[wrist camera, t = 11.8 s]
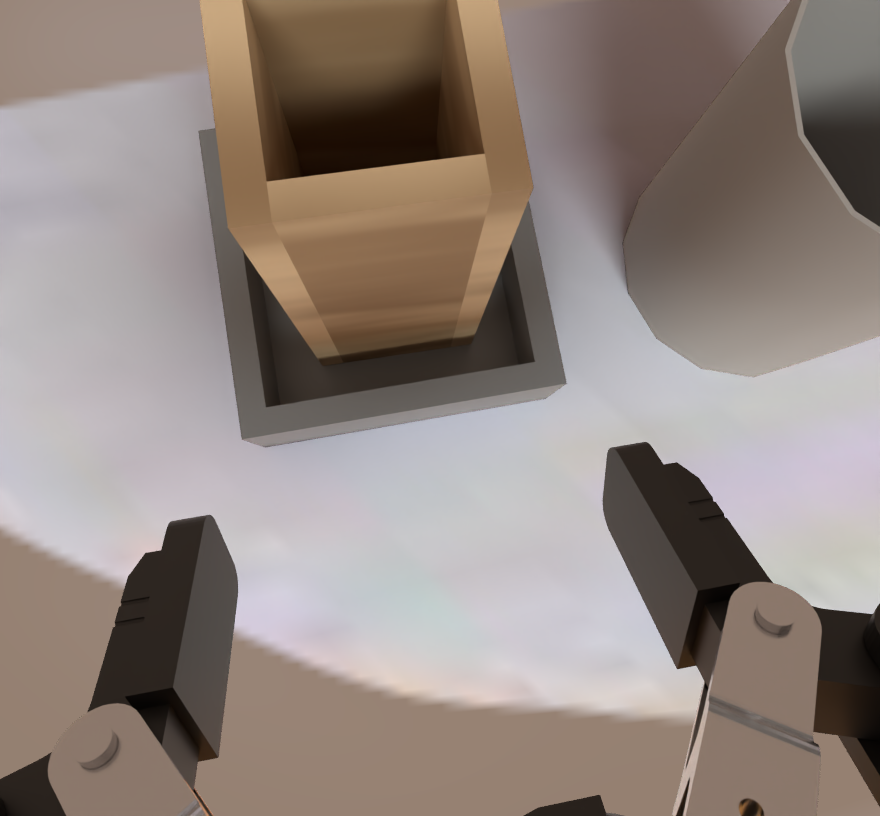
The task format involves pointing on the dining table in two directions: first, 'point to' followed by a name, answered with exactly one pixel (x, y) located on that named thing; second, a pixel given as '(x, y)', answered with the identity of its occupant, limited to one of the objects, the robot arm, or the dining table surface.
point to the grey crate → (387, 378)
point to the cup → (772, 203)
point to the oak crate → (369, 163)
